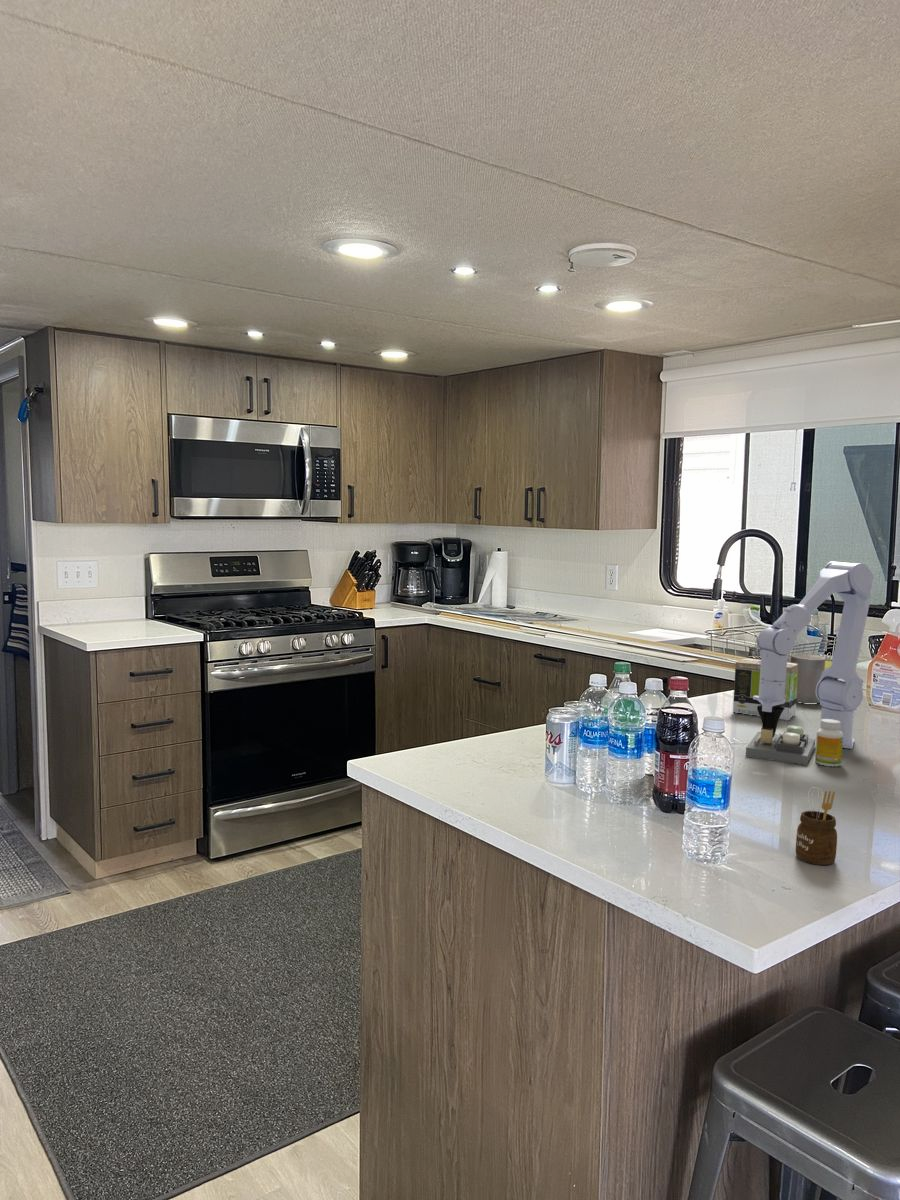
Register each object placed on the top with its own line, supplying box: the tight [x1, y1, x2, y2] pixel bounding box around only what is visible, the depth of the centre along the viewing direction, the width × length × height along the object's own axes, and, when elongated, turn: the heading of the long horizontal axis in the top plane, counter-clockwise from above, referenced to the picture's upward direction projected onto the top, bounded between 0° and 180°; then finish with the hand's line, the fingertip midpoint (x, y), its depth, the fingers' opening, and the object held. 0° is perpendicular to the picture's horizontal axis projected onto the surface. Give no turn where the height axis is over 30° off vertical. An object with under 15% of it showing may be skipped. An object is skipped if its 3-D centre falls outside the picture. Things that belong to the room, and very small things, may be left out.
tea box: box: [732, 658, 798, 721], centre depth 248 cm, size 15×10×15 cm
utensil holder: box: [795, 786, 838, 866], centre depth 141 cm, size 6×6×12 cm
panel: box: [745, 731, 816, 766], centre depth 207 cm, size 18×13×4 cm
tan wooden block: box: [760, 726, 773, 743], centre depth 206 cm, size 2×2×3 cm
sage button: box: [786, 725, 805, 738], centre depth 209 cm, size 4×4×2 cm
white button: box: [782, 731, 800, 746], centre depth 202 cm, size 4×4×2 cm
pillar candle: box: [790, 651, 827, 703], centre depth 268 cm, size 10×10×15 cm
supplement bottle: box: [814, 719, 843, 768], centre depth 198 cm, size 5×5×10 cm
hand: (768, 736), depth 209 cm, fingers closed
